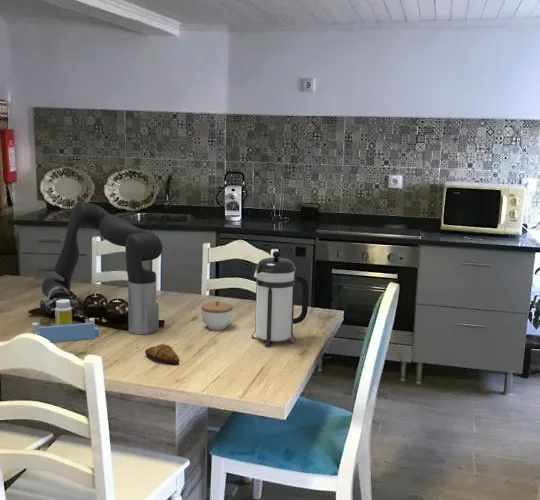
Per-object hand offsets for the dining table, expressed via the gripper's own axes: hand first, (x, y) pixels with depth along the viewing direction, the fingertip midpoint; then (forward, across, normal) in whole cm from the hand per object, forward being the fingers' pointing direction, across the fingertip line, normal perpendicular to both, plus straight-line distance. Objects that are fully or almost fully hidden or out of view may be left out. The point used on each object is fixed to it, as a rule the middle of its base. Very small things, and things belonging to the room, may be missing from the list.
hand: (63, 309), depth 222 cm
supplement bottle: (+2, 0, +6) cm, 6 cm away
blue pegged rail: (+4, 0, +6) cm, 7 cm away
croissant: (+42, +25, +7) cm, 49 cm away
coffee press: (+34, +65, +6) cm, 73 cm away
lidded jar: (+15, +50, +6) cm, 53 cm away
